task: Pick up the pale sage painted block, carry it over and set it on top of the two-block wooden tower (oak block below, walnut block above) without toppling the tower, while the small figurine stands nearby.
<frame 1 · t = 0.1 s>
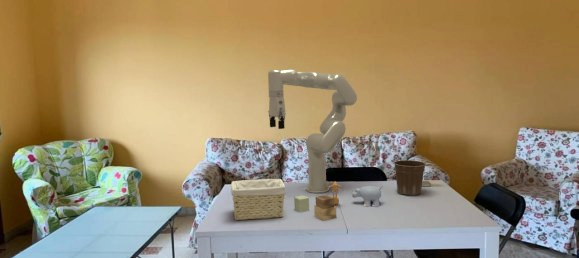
hand: (277, 127, 200), 37 cm above the table, tool pointing down, fingers open, 9 cm apart
figurine: (335, 205, 189), on the table
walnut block: (325, 206, 172), point 5 cm above the table, touching oak block
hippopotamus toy: (367, 203, 191), on the table
storage basket: (258, 215, 178), on the table
sage block: (301, 209, 183), on the table
oak block: (325, 217, 173), on the table, touching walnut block
plant pot: (409, 193, 206), on the table
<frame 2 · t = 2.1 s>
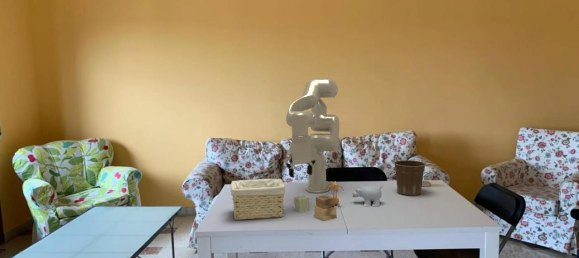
hand: (300, 175, 181), 16 cm above the table, tool pointing down, fingers open, 9 cm apart
nothing on the table moved.
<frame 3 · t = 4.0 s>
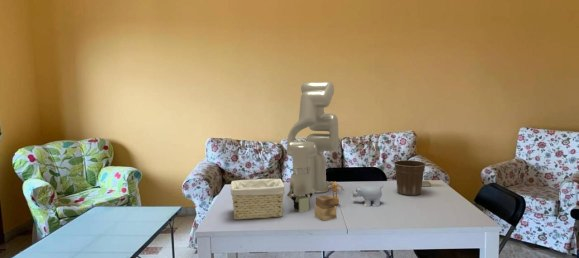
hand: (301, 208, 183), 1 cm above the table, tool pointing down, fingers closed on sage block, 5 cm apart
sage block: (301, 209, 183), on the table, touching gripper
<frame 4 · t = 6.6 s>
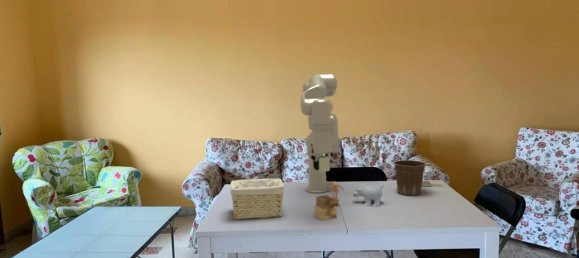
hand: (321, 168, 171), 22 cm above the table, tool pointing down, fingers closed on sage block, 5 cm apart
sage block: (321, 170, 171), point 21 cm above the table, touching gripper
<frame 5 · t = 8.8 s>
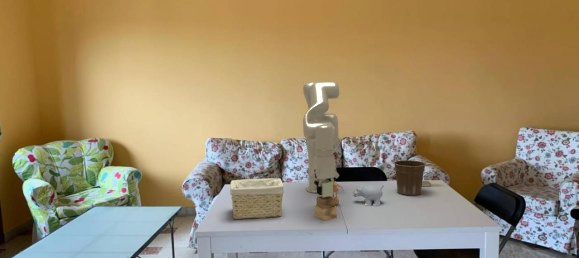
hand: (325, 193, 172), 11 cm above the table, tool pointing down, fingers closed on sage block, 5 cm apart
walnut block: (325, 206, 172), point 5 cm above the table
sage block: (325, 194, 172), point 10 cm above the table, touching gripper
oak block: (325, 217, 173), on the table
when the fingers open (11 cm above the table, at t = 9.2 s): sage block stays where it is, resting on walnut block.
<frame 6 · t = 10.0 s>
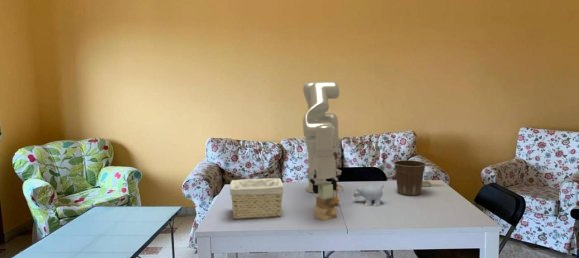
hand: (324, 191, 172), 12 cm above the table, tool pointing down, fingers open, 9 cm apart
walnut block: (325, 206, 172), point 5 cm above the table, touching oak block, sage block
sage block: (325, 197, 172), point 9 cm above the table, touching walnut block
oak block: (325, 217, 173), on the table, touching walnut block
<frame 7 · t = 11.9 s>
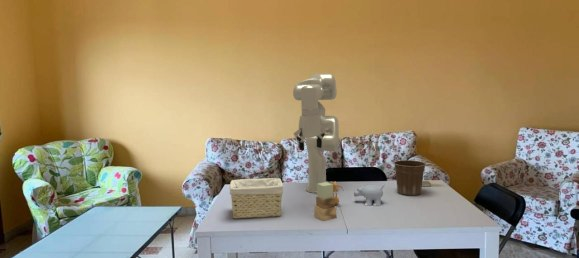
hand: (310, 148, 182), 29 cm above the table, tool pointing down, fingers open, 9 cm apart
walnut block: (325, 206, 172), point 5 cm above the table, touching oak block
sage block: (325, 197, 172), point 9 cm above the table
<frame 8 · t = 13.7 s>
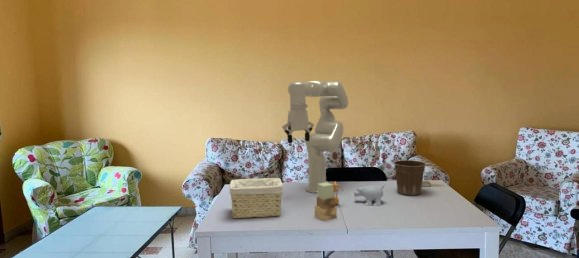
hand: (298, 141, 193), 30 cm above the table, tool pointing down, fingers open, 9 cm apart
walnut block: (325, 206, 172), point 5 cm above the table, touching oak block, sage block
sage block: (325, 197, 172), point 9 cm above the table, touching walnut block
at the end: sage block 0.0 cm off-centre on the oak block, point 9.0 cm above the oak block's base; sage block tilted 0°; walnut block tilted 0° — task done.
